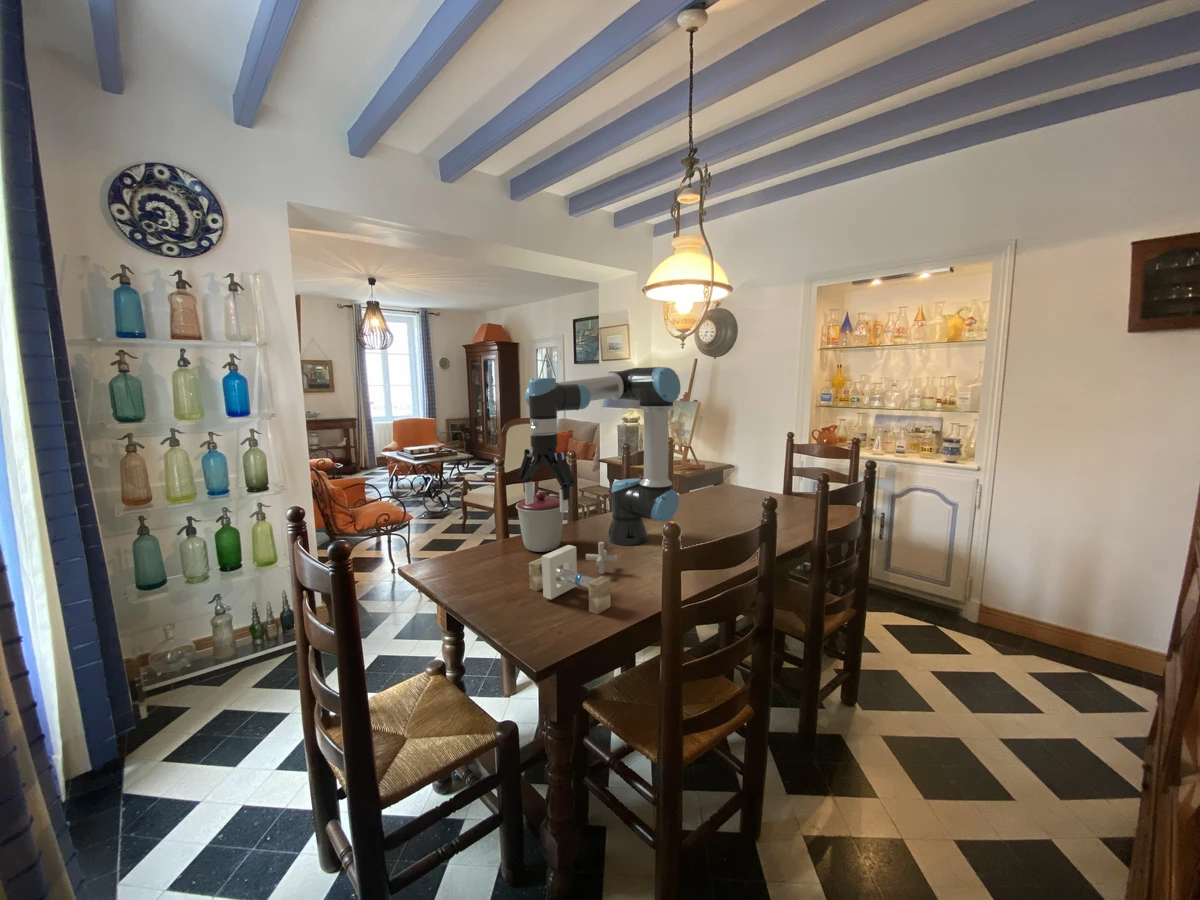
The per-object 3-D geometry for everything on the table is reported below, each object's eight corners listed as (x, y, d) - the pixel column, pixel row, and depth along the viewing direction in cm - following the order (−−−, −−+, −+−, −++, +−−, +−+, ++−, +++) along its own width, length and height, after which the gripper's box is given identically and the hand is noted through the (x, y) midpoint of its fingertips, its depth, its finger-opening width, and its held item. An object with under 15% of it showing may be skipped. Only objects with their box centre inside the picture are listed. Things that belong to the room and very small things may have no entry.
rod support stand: (529, 588, 141) (528, 563, 140) (543, 582, 145) (542, 557, 144) (597, 614, 125) (597, 585, 124) (610, 606, 129) (610, 578, 128)
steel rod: (533, 572, 141) (532, 561, 141) (541, 568, 144) (540, 558, 143) (598, 595, 126) (598, 583, 125) (606, 590, 128) (606, 579, 128)
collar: (543, 596, 134) (541, 555, 132) (569, 583, 142) (568, 544, 140) (550, 599, 132) (549, 558, 130) (577, 585, 140) (576, 546, 138)
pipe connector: (614, 580, 146) (614, 549, 144) (582, 578, 148) (582, 547, 146) (619, 567, 156) (619, 538, 154) (590, 565, 158) (589, 536, 156)
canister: (532, 560, 163) (530, 500, 160) (509, 546, 177) (506, 491, 174) (576, 548, 174) (575, 492, 170) (551, 536, 188) (549, 483, 185)
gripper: (503, 432, 138) (506, 503, 141) (568, 437, 123) (570, 517, 126) (522, 429, 143) (525, 498, 147) (587, 434, 129) (588, 510, 132)
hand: (546, 507), depth 136 cm, fingers open, 13 cm apart
